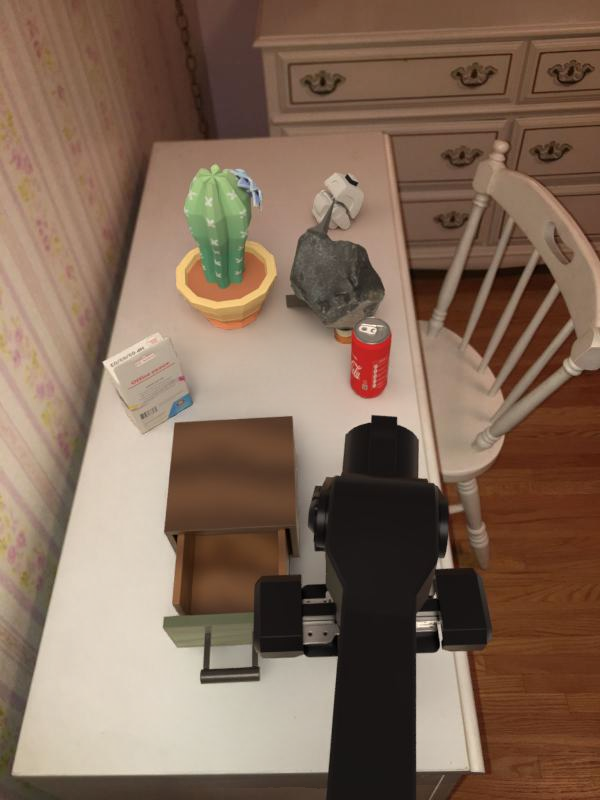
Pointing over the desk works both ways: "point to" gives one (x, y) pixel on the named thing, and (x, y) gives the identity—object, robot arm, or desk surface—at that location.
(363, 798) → the robot arm
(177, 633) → the drawer
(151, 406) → the ink box
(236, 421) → the cabinet
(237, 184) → the potted cactus
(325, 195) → the white faceted figurine
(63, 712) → the desk surface
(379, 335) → the beverage can
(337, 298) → the narwhal figurine
